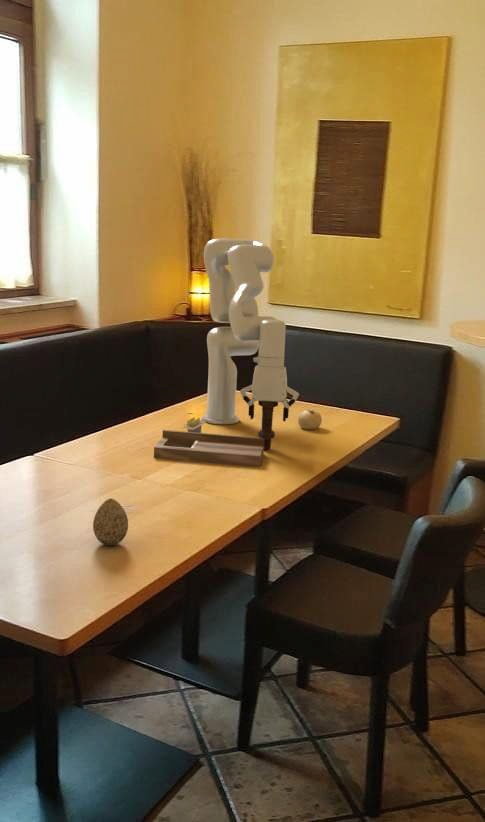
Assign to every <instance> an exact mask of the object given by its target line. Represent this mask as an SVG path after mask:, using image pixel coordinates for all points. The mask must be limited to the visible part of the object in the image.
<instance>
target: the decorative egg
mask: <svg viewBox="0 0 485 822" xmlns="http://www.w3.org/2000/svg"><path fill="white" fill-rule="evenodd" d="M128 519H129V518H128V516H127V512H126V510H125V509H124V507H123V506H122V505H121V504H120V502H119V501H117V500H115V499H114V498H108V499H106V500H105V501H104V502H103V503H102V504H101V505H100V506H99V507H98V509H97V511H96V512H95V515H94V517H93V522H92V530H93V533H94V536H95V538H96V539H97V541H99V542H100V543H101V544H102V545H105V546H108V547H109V546H110V547H112V546H116V545H118V544H119V543H120V542H122V541H123V540H124V538H125V537H126V536H127V533H128V529H129V520H128Z"/></svg>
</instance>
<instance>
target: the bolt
mask: <svg viewBox="0 0 485 822" xmlns="http://www.w3.org/2000/svg"><path fill="white" fill-rule="evenodd" d="M258 405H259V406H260V407H262V408H261V410H262V413H261V428H260V430H259V431H257V438H264V450H265V451H269V450H271V448H272V447H271V446H272V439H273V440H274V439H275V435H276V434H275V431H273V419H274V418H273V417H274V408H276V407H278V406H279V402H268V401H258Z"/></svg>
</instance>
